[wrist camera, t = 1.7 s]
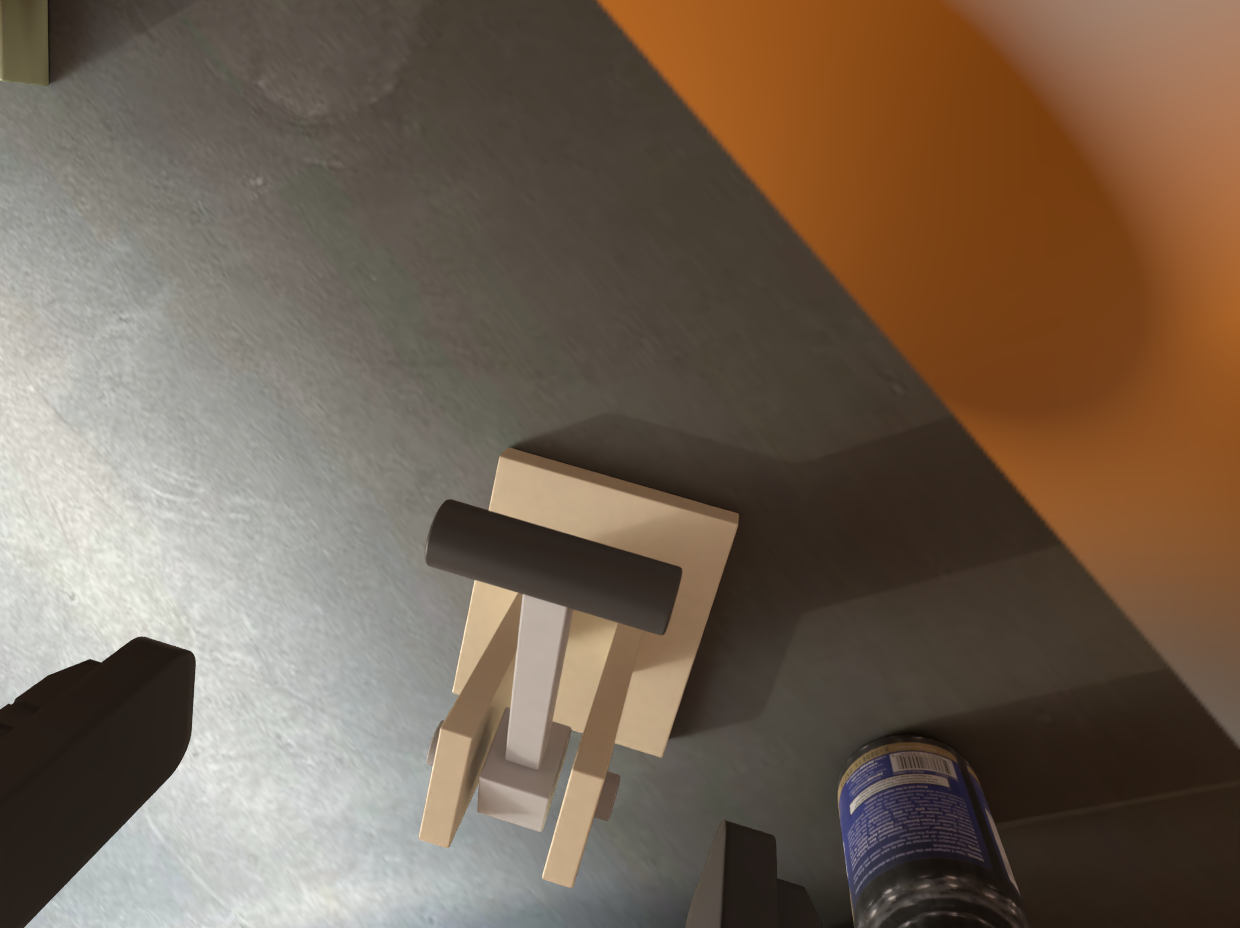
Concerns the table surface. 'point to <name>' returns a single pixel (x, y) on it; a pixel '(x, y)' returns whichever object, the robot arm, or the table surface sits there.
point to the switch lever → (543, 633)
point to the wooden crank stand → (580, 646)
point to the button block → (24, 41)
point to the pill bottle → (922, 840)
